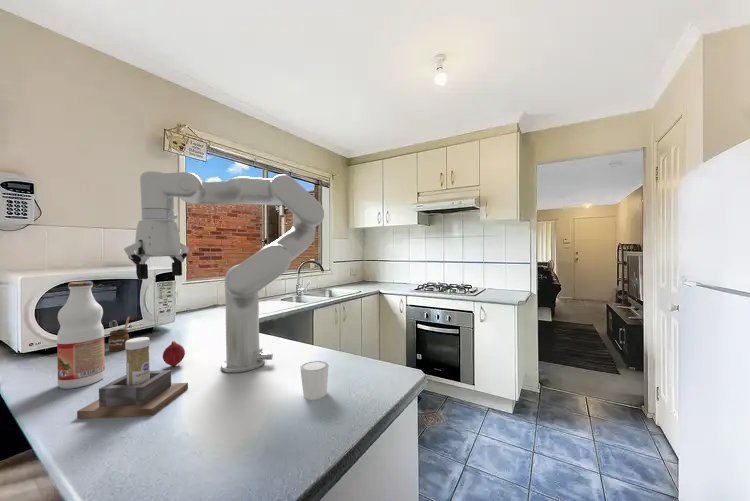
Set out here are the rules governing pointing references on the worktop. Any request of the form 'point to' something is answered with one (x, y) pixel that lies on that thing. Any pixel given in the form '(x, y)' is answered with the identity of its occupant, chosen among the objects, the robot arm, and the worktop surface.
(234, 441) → the worktop surface
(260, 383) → the worktop surface
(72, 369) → the fruit juice
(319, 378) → the white cup
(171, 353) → the onion
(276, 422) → the worktop surface
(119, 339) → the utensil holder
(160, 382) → the socket stand
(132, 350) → the sprinkles bottle
